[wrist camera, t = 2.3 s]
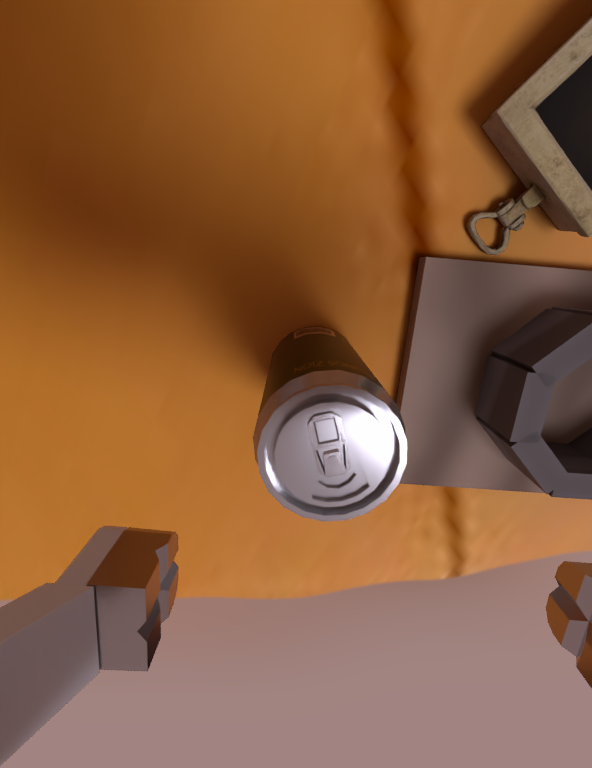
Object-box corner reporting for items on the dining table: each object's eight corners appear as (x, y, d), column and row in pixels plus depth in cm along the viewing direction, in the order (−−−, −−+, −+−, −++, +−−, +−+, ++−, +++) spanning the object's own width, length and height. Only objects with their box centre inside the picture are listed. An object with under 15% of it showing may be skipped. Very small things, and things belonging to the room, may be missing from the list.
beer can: (261, 335, 23) (230, 398, 12) (347, 315, 23) (402, 360, 12) (281, 415, 25) (272, 540, 13) (363, 398, 25) (424, 510, 13)
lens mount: (384, 473, 26) (408, 525, 21) (419, 257, 22) (459, 253, 17) (654, 491, 27) (745, 547, 21) (735, 284, 23) (872, 288, 17)
